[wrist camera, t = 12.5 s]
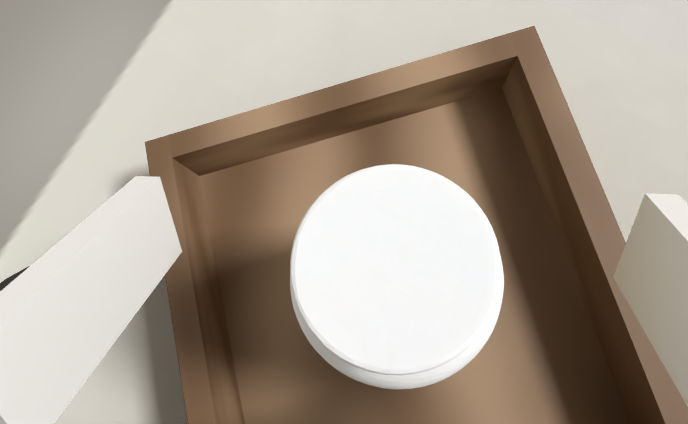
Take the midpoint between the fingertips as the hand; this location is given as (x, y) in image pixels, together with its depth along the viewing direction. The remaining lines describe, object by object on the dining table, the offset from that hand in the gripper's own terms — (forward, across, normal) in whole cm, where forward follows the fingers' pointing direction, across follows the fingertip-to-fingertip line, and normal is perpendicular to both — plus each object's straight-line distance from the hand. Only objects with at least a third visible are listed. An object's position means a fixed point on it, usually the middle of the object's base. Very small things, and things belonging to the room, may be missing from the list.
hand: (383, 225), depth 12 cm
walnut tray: (+4, 0, -6) cm, 7 cm away
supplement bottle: (+3, 0, -5) cm, 6 cm away
